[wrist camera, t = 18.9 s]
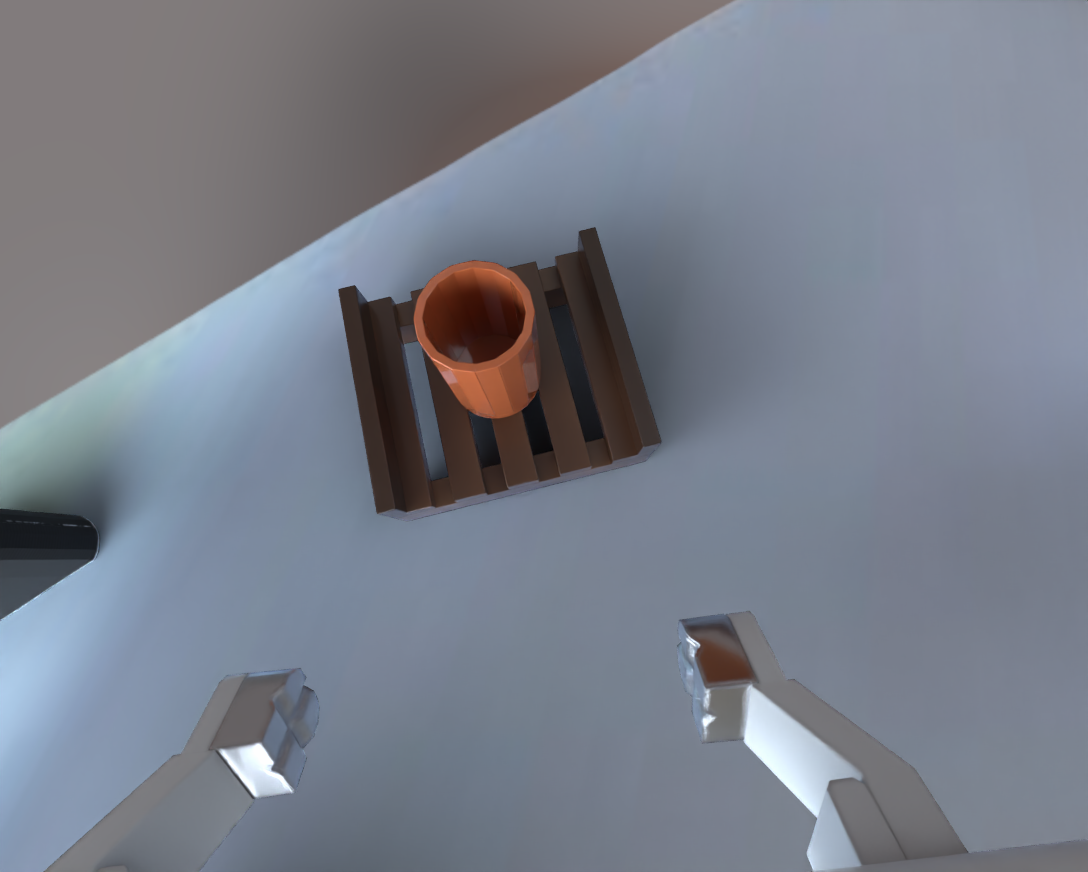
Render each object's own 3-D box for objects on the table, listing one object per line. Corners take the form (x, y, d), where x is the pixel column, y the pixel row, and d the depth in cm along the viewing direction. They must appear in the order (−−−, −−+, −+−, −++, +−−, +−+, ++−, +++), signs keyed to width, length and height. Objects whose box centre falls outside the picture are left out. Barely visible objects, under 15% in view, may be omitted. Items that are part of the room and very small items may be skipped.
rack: (590, 276, 35) (595, 226, 30) (645, 461, 32) (662, 442, 27) (371, 329, 35) (337, 288, 29) (407, 521, 32) (376, 514, 26)
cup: (529, 324, 31) (518, 248, 23) (550, 406, 30) (546, 354, 22) (443, 345, 31) (404, 276, 23) (461, 428, 29) (426, 384, 22)
